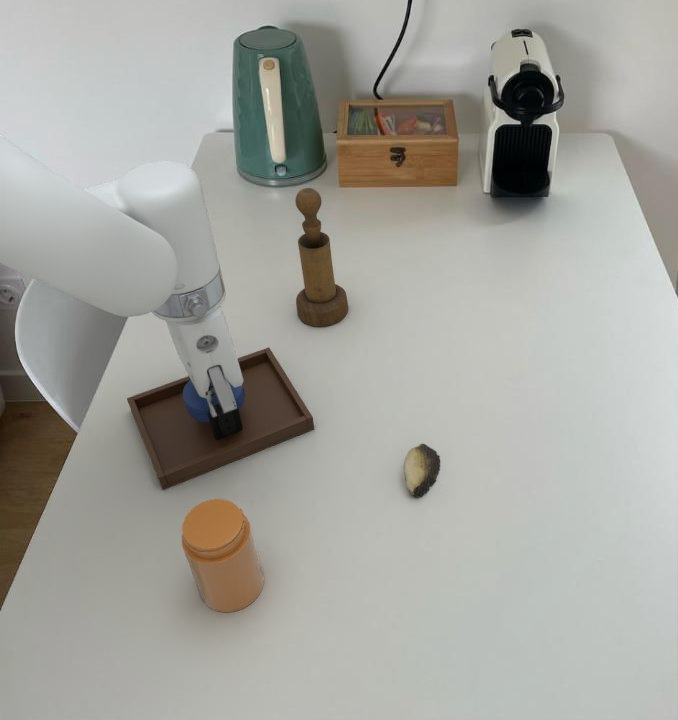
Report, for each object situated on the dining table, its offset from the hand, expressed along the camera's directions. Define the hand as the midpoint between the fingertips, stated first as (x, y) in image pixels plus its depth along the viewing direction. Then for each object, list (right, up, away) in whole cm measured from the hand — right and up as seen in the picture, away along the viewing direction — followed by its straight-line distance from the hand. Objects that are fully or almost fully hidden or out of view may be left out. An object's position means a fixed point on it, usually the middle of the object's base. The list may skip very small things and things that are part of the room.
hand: (218, 412), depth 91 cm
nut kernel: (+23, -6, -5) cm, 24 cm away
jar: (+5, -15, -15) cm, 22 cm away
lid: (0, +2, -2) cm, 3 cm away
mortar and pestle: (+10, +12, +15) cm, 22 cm away
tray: (0, -1, +1) cm, 1 cm away
